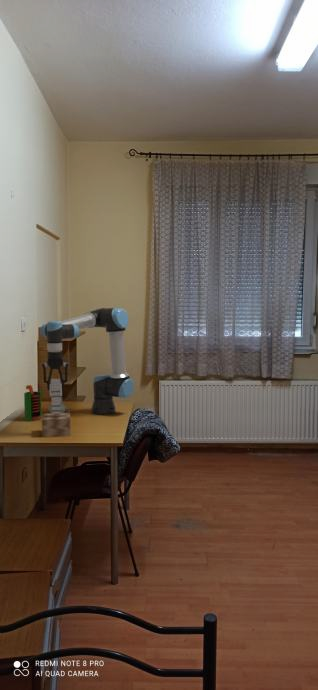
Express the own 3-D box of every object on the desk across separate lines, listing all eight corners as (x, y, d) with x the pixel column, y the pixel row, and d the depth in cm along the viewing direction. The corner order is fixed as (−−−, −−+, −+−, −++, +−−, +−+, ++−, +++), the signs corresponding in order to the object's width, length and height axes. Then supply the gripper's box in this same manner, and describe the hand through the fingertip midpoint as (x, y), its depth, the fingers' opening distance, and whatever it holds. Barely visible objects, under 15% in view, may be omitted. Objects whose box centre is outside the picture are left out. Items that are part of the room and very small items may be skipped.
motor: (35, 421, 296) (35, 387, 294) (21, 421, 298) (20, 386, 296) (43, 417, 306) (42, 384, 304) (29, 417, 308) (28, 384, 306)
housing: (70, 429, 278) (70, 410, 277) (70, 435, 264) (69, 416, 263) (43, 430, 276) (43, 411, 275) (42, 437, 262) (41, 417, 261)
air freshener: (68, 412, 321) (67, 396, 321) (64, 415, 313) (64, 398, 312) (51, 411, 322) (50, 396, 322) (46, 414, 314) (46, 398, 313)
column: (61, 416, 272) (60, 378, 270) (60, 418, 267) (60, 379, 266) (52, 416, 271) (51, 378, 269) (51, 418, 266) (50, 380, 265)
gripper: (72, 350, 271) (73, 394, 273) (37, 350, 268) (39, 395, 270) (72, 351, 264) (73, 396, 266) (36, 352, 261) (38, 397, 263)
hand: (55, 395), depth 268 cm, fingers closed on column, 5 cm apart
